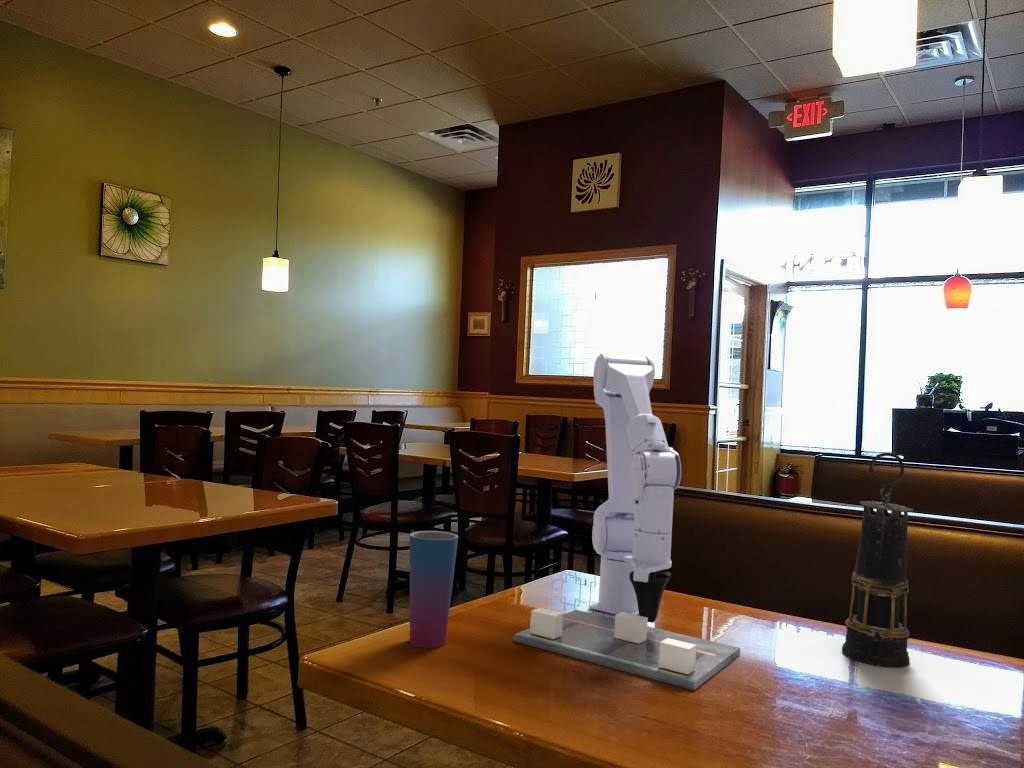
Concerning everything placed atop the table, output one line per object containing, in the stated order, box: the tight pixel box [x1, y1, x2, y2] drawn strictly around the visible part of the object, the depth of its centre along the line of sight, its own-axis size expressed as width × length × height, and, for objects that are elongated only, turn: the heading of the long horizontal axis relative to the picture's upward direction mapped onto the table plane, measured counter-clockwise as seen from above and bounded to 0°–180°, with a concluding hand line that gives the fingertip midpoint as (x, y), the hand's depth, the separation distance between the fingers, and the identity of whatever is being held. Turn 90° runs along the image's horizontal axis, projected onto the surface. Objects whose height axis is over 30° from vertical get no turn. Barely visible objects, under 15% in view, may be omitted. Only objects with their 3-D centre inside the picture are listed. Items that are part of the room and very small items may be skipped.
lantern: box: [841, 452, 914, 669], centre depth 112 cm, size 9×9×30 cm
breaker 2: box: [659, 638, 696, 675], centre depth 98 cm, size 2×4×3 cm, turn 56°
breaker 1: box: [529, 607, 564, 639], centre depth 110 cm, size 2×4×3 cm, turn 56°
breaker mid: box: [614, 612, 648, 644], centre depth 110 cm, size 2×4×3 cm, turn 56°
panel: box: [513, 609, 741, 691], centre depth 109 cm, size 18×27×1 cm, turn 56°
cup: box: [409, 530, 459, 649], centre depth 107 cm, size 7×7×15 cm
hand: (647, 620), depth 115 cm, fingers closed
